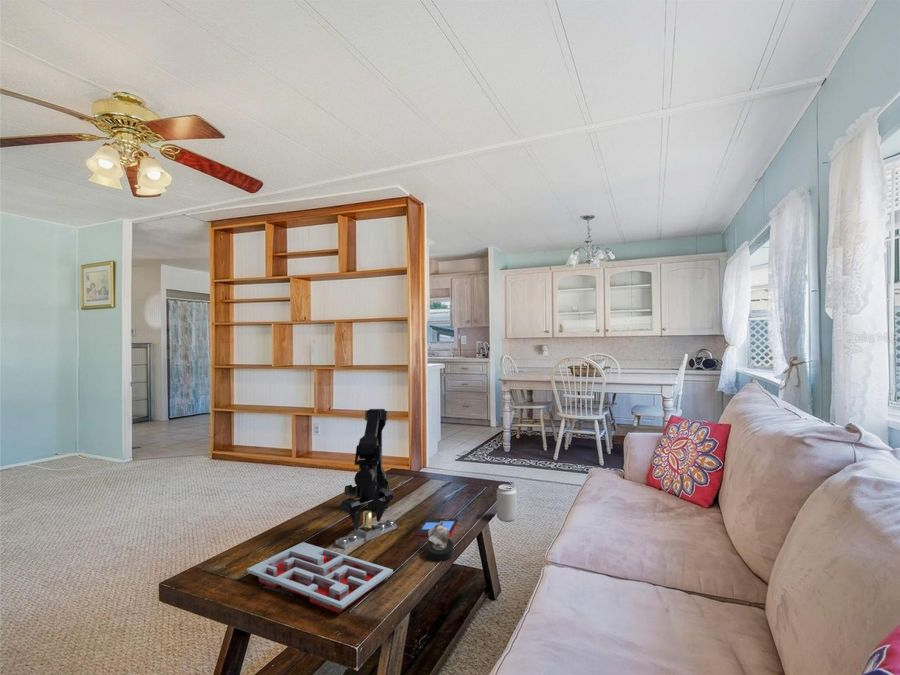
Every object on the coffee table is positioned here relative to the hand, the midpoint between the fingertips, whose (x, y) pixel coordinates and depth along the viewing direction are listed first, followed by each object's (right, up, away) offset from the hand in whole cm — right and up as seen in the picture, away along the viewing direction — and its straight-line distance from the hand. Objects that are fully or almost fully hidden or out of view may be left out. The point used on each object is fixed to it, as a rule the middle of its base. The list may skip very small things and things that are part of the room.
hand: (367, 525), depth 150 cm
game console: (+24, -5, +6) cm, 25 cm away
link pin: (0, -4, 0) cm, 4 cm away
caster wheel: (+25, -4, -13) cm, 29 cm away
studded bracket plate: (0, -4, 0) cm, 4 cm away
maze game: (-8, -3, -29) cm, 30 cm away
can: (+49, -4, +15) cm, 52 cm away
